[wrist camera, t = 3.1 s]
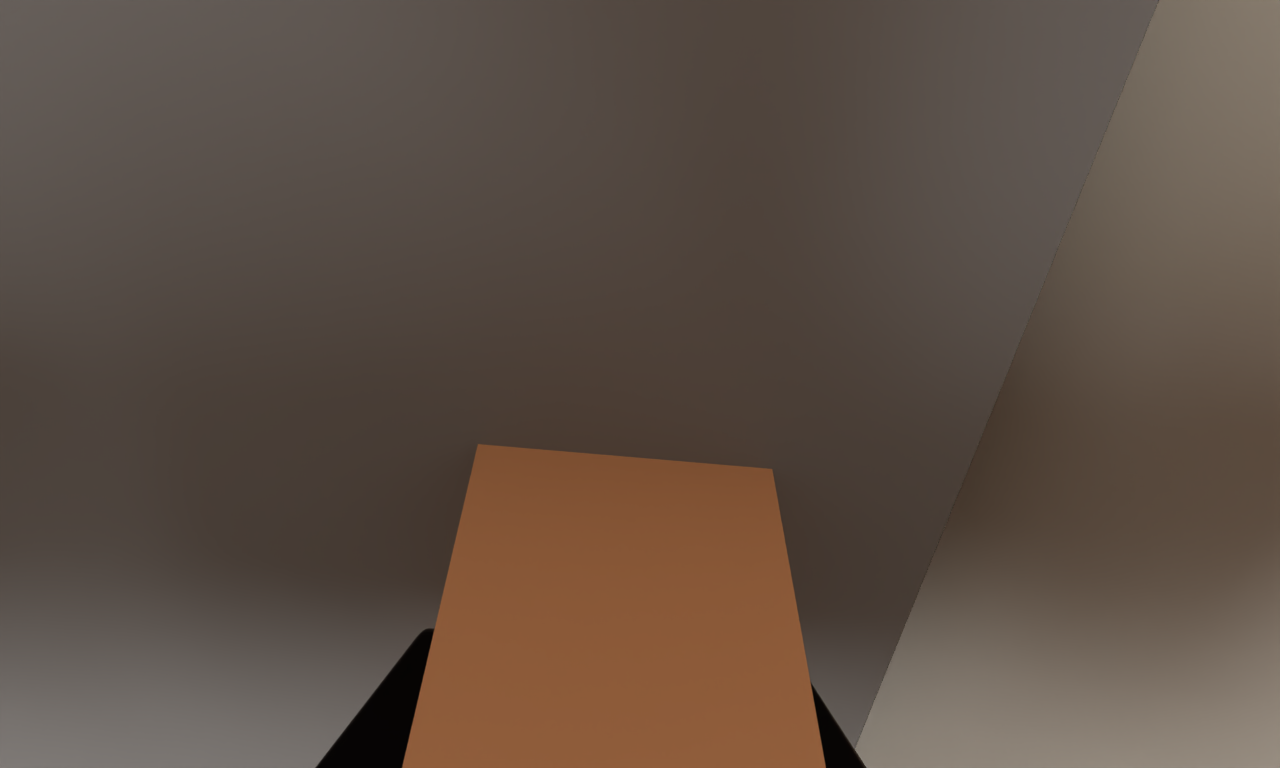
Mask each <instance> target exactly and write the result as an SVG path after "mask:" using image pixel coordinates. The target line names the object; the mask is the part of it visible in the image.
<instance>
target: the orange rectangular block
mask: <svg viewBox="0 0 1280 768" xmlns="http://www.w3.org/2000/svg"><path fill="white" fill-rule="evenodd" d="M402 768H826V766H825V760H824V755H823V749H822V744H821V738H820V732H819V727H818V721H817V716H816V710H815V705H814V699H813V693H812V688H811V682H810V677H809V671H808V665H807V660H806V654H805V649H804V643H803V638H802V632H801V626H800V621H799V615H798V610H797V604H796V599H795V593H794V587H793V582H792V576H791V571H790V565H789V560H788V554H787V548H786V543H785V537H784V532H783V526H782V521H781V515H780V509H779V504H778V498H777V493H776V487H775V482H774V476H773V470H772V469H767V468H755V467H743V466H731V465H719V464H707V463H696V462H684V461H672V460H660V459H648V458H636V457H624V456H613V455H601V454H589V453H577V452H565V451H553V450H541V449H530V448H518V447H506V446H494V445H482V444H478V446H477V450H476V454H475V458H474V463H473V467H472V471H471V475H470V480H469V484H468V488H467V493H466V497H465V501H464V505H463V510H462V514H461V518H460V523H459V527H458V531H457V535H456V540H455V544H454V548H453V552H452V557H451V561H450V565H449V570H448V574H447V578H446V582H445V587H444V591H443V595H442V599H441V604H440V608H439V612H438V617H437V621H436V625H435V629H434V634H433V638H432V642H431V646H430V651H429V655H428V659H427V664H426V668H425V672H424V676H423V681H422V685H421V689H420V694H419V698H418V702H417V706H416V711H415V715H414V719H413V723H412V728H411V732H410V736H409V741H408V745H407V749H406V753H405V758H404V762H403V766H402Z"/></svg>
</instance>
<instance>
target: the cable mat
mask: <svg viewBox="0 0 1280 768" xmlns="http://www.w3.org/2000/svg"><path fill="white" fill-rule="evenodd" d="M1158 1H1159V0H0V768H315V767H316V766H317V765H318V763H319V762H320V761H321V760H322V758H323V757H324V756H325V754H326V753H327V752H328V751H329V749H330V748H331V747H332V745H333V744H334V743H335V741H336V740H337V739H338V738H339V736H340V735H341V734H342V732H343V731H344V730H345V729H346V727H347V726H348V725H349V723H350V722H351V721H352V720H353V718H354V717H355V716H356V714H357V713H358V712H359V710H360V709H361V708H362V707H363V705H364V704H365V703H366V701H367V700H368V699H369V698H370V696H371V695H372V694H373V692H374V691H375V690H376V689H377V687H378V686H379V685H380V683H381V682H382V681H383V680H384V678H385V677H386V676H387V674H388V673H389V672H390V670H391V669H392V668H393V667H394V665H395V664H396V663H397V661H398V660H399V659H400V658H401V656H402V655H403V654H404V652H405V651H406V650H407V649H408V647H409V646H410V645H411V643H412V642H413V641H414V639H415V638H416V637H417V636H418V635H419V634H420V633H421V632H422V631H423V630H425V629H427V628H435V625H436V621H437V617H438V612H439V608H440V604H441V599H442V595H443V591H444V587H445V582H446V578H447V574H448V570H449V565H450V561H451V557H452V552H453V548H454V544H455V540H456V535H457V531H458V527H459V523H460V518H461V514H462V510H463V505H464V501H465V497H466V493H467V488H468V484H469V480H470V475H471V471H472V467H473V463H474V458H475V454H476V450H477V446H478V444H482V445H494V446H506V447H518V448H530V449H541V450H553V451H565V452H577V453H589V454H601V455H613V456H624V457H636V458H648V459H660V460H672V461H684V462H696V463H707V464H719V465H731V466H743V467H755V468H767V469H772V470H773V476H774V482H775V487H776V493H777V498H778V504H779V509H780V515H781V521H782V526H783V532H784V537H785V543H786V548H787V554H788V560H789V565H790V571H791V576H792V582H793V587H794V593H795V599H796V604H797V610H798V615H799V621H800V626H801V632H802V638H803V643H804V649H805V654H806V660H807V665H808V671H809V677H810V682H811V683H812V685H813V686H814V688H815V689H816V691H817V693H818V694H819V696H820V697H821V699H822V700H823V702H824V703H825V705H826V706H827V708H828V709H829V711H830V713H831V714H832V716H833V717H834V719H835V720H836V722H837V723H838V725H839V726H840V728H841V729H842V731H843V733H844V734H845V736H846V737H847V739H848V740H849V742H850V743H851V745H852V746H853V748H854V749H855V747H856V744H857V742H858V739H859V737H860V735H861V732H862V730H863V727H864V725H865V722H866V720H867V717H868V715H869V712H870V710H871V707H872V705H873V703H874V700H875V698H876V695H877V693H878V690H879V688H880V685H881V683H882V680H883V678H884V675H885V673H886V671H887V668H888V666H889V663H890V661H891V658H892V656H893V653H894V651H895V648H896V646H897V643H898V641H899V639H900V636H901V634H902V631H903V629H904V626H905V624H906V621H907V619H908V616H909V614H910V612H911V609H912V607H913V604H914V602H915V599H916V597H917V594H918V592H919V589H920V587H921V584H922V582H923V580H924V577H925V575H926V572H927V570H928V567H929V565H930V562H931V560H932V557H933V555H934V552H935V550H936V548H937V545H938V543H939V540H940V538H941V535H942V533H943V530H944V528H945V525H946V523H947V520H948V518H949V516H950V513H951V511H952V508H953V506H954V503H955V501H956V498H957V496H958V493H959V491H960V488H961V486H962V484H963V481H964V479H965V476H966V474H967V471H968V469H969V466H970V464H971V461H972V459H973V456H974V454H975V452H976V449H977V447H978V444H979V442H980V439H981V437H982V434H983V432H984V429H985V427H986V424H987V422H988V420H989V417H990V415H991V412H992V410H993V407H994V405H995V402H996V400H997V397H998V395H999V393H1000V390H1001V388H1002V385H1003V383H1004V380H1005V378H1006V375H1007V373H1008V370H1009V368H1010V365H1011V363H1012V361H1013V358H1014V356H1015V353H1016V351H1017V348H1018V346H1019V343H1020V341H1021V338H1022V336H1023V333H1024V331H1025V329H1026V326H1027V324H1028V321H1029V319H1030V316H1031V314H1032V311H1033V309H1034V306H1035V304H1036V301H1037V299H1038V297H1039V294H1040V292H1041V289H1042V287H1043V284H1044V282H1045V279H1046V277H1047V274H1048V272H1049V269H1050V267H1051V265H1052V262H1053V260H1054V257H1055V255H1056V252H1057V250H1058V247H1059V245H1060V242H1061V240H1062V237H1063V235H1064V233H1065V230H1066V228H1067V225H1068V223H1069V220H1070V218H1071V215H1072V213H1073V210H1074V208H1075V205H1076V203H1077V201H1078V198H1079V196H1080V193H1081V191H1082V188H1083V186H1084V183H1085V181H1086V178H1087V176H1088V174H1089V171H1090V169H1091V166H1092V164H1093V161H1094V159H1095V156H1096V154H1097V151H1098V149H1099V146H1100V144H1101V142H1102V139H1103V137H1104V134H1105V132H1106V129H1107V127H1108V124H1109V122H1110V119H1111V117H1112V114H1113V112H1114V110H1115V107H1116V105H1117V102H1118V100H1119V97H1120V95H1121V92H1122V90H1123V87H1124V85H1125V82H1126V80H1127V78H1128V75H1129V73H1130V70H1131V68H1132V65H1133V63H1134V60H1135V58H1136V55H1137V53H1138V50H1139V48H1140V46H1141V43H1142V41H1143V38H1144V36H1145V33H1146V31H1147V28H1148V26H1149V23H1150V21H1151V18H1152V16H1153V14H1154V11H1155V9H1156V6H1157V4H1158Z"/></svg>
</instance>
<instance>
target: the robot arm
mask: <svg viewBox="0 0 1280 768" xmlns="http://www.w3.org/2000/svg"><path fill="white" fill-rule="evenodd" d="M434 629H435V628H427V629H425V630H423V631H422V632H421V633H420V634H419V635H418V636H417V637H416V638H415V639H414V641H413V642H412V643H411V645H410V646H409V647H408V649H407V650H406V651H405V652H404V654H403V655H402V656H401V658H400V659H399V660H398V661H397V663H396V664H395V665H394V667H393V668H392V669H391V670H390V672H389V673H388V674H387V676H386V677H385V678H384V680H383V681H382V682H381V683H380V685H379V686H378V687H377V689H376V690H375V691H374V692H373V694H372V695H371V696H370V698H369V699H368V700H367V701H366V703H365V704H364V705H363V707H362V708H361V709H360V710H359V712H358V713H357V714H356V716H355V717H354V718H353V720H352V721H351V722H350V723H349V725H348V726H347V727H346V729H345V730H344V731H343V732H342V734H341V735H340V736H339V738H338V739H337V740H336V741H335V743H334V744H333V745H332V747H331V748H330V749H329V751H328V752H327V753H326V754H325V756H324V757H323V758H322V760H321V761H320V762H319V763H318V765H317V766H316V767H315V768H402V766H403V762H404V758H405V753H406V749H407V745H408V741H409V736H410V732H411V728H412V723H413V719H414V715H415V711H416V706H417V702H418V698H419V694H420V689H421V685H422V681H423V676H424V672H425V668H426V664H427V659H428V655H429V651H430V646H431V642H432V638H433V634H434ZM811 688H812V693H813V699H814V705H815V710H816V716H817V721H818V727H819V732H820V738H821V744H822V749H823V755H824V760H825V766H826V768H866V766H865V765H864V763H863V762H862V760H861V759H860V757H859V756H858V754H857V753H856V751H855V749H854V748H853V746H852V745H851V743H850V742H849V740H848V739H847V737H846V736H845V734H844V733H843V731H842V729H841V728H840V726H839V725H838V723H837V722H836V720H835V719H834V717H833V716H832V714H831V713H830V711H829V709H828V708H827V706H826V705H825V703H824V702H823V700H822V699H821V697H820V696H819V694H818V693H817V691H816V689H815V688H814V686H813V685H812V683H811Z"/></svg>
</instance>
